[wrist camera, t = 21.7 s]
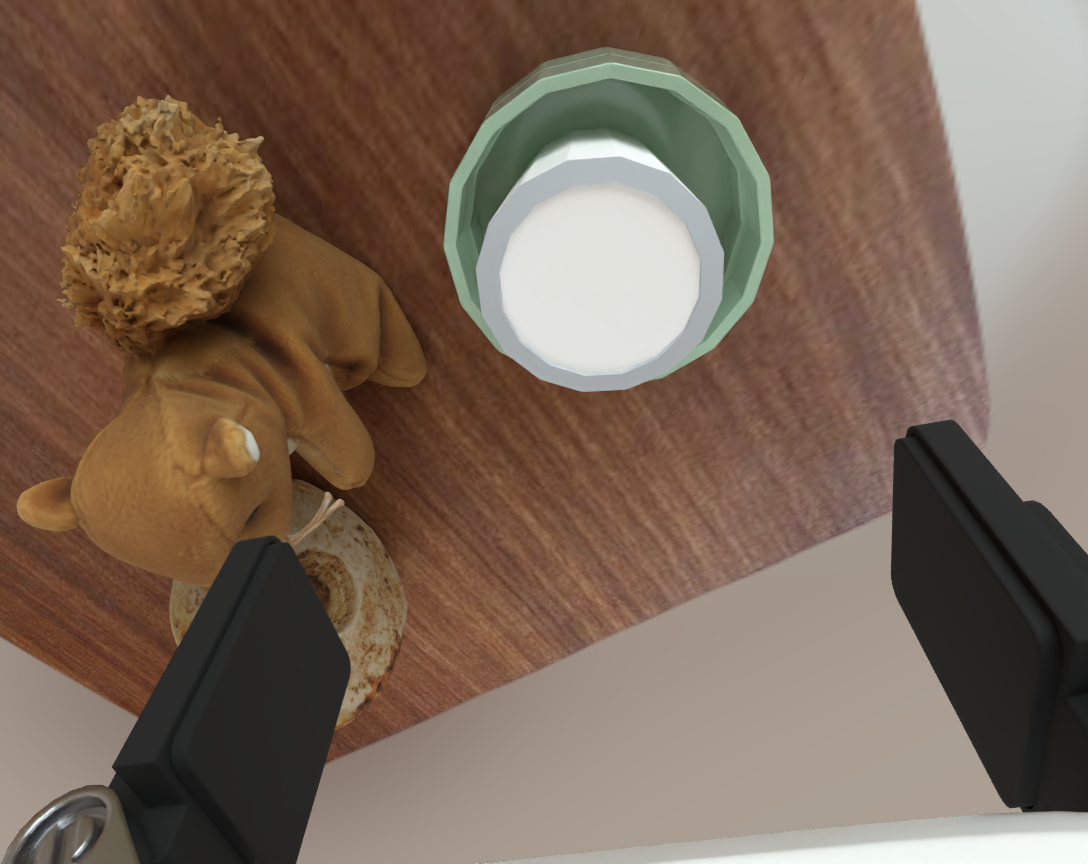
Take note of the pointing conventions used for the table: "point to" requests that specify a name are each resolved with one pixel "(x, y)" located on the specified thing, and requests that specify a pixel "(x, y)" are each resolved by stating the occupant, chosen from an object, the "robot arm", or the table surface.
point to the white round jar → (599, 265)
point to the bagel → (337, 595)
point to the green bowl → (634, 109)
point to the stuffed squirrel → (212, 348)
